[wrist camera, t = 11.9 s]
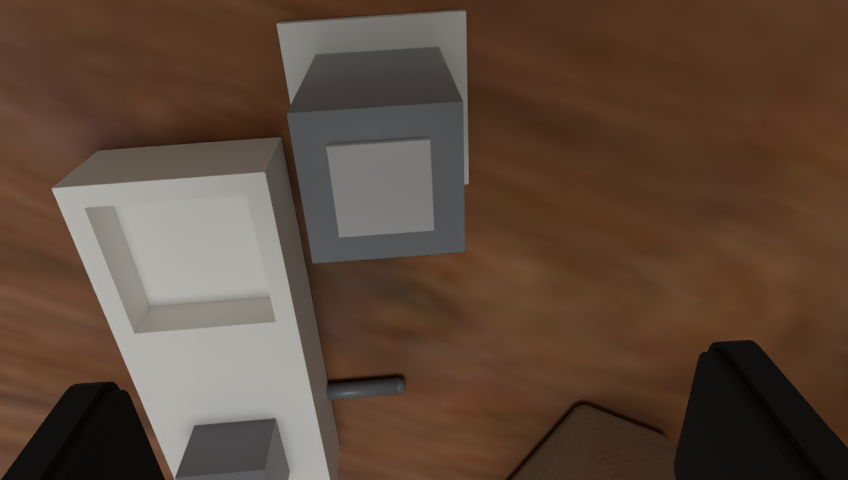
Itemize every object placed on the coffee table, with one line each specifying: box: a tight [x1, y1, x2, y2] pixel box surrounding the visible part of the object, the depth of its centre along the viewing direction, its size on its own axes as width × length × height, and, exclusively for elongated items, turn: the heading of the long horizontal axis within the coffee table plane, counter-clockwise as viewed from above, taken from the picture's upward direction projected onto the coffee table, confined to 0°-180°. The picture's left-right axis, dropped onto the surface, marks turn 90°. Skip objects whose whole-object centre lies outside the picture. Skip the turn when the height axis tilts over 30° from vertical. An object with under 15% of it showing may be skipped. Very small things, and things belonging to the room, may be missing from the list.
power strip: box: [52, 137, 406, 480], centre depth 27 cm, size 12×20×7 cm, turn 3°
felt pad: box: [277, 10, 469, 184], centre depth 24 cm, size 8×8×1 cm
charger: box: [287, 47, 465, 263], centre depth 20 cm, size 5×5×8 cm
